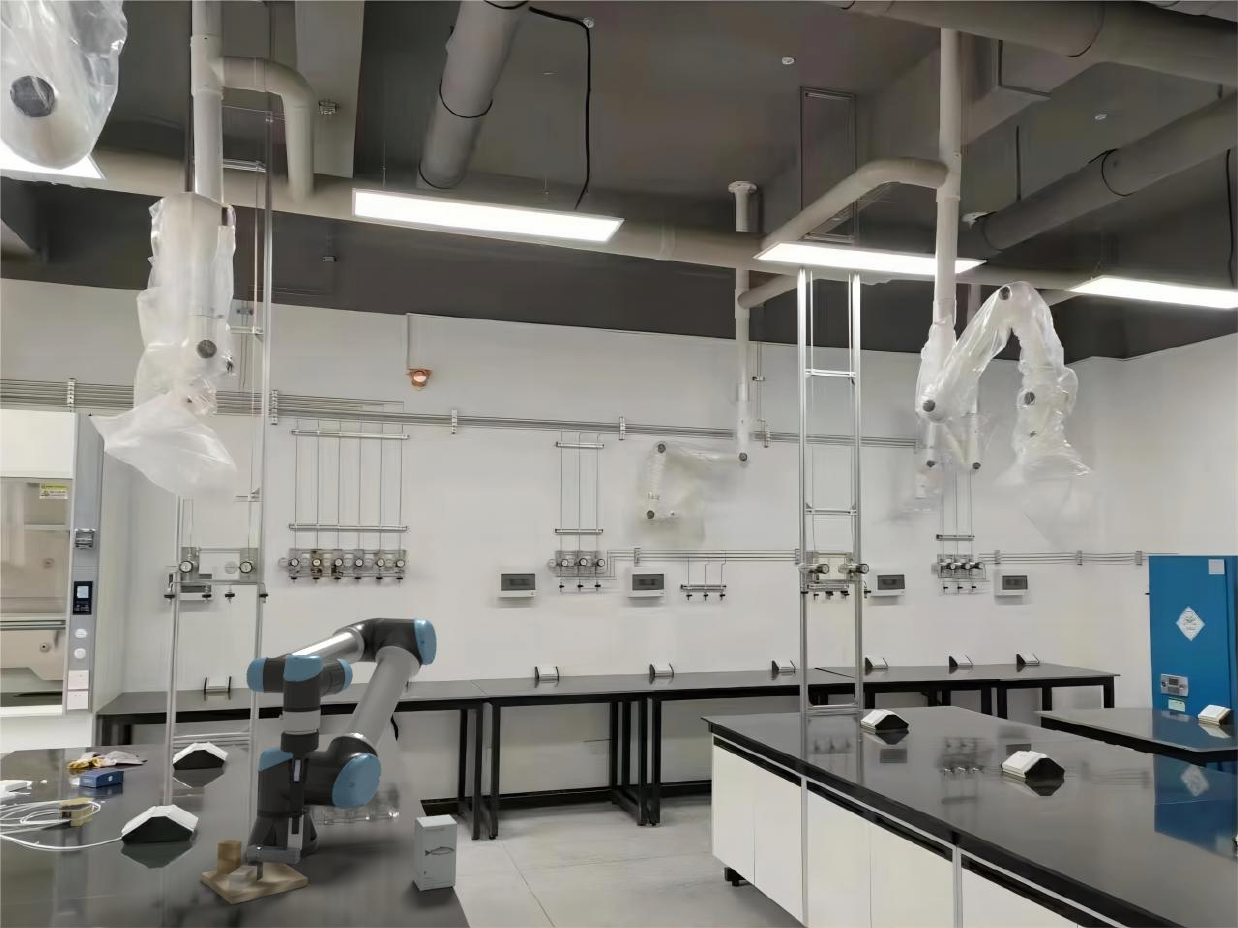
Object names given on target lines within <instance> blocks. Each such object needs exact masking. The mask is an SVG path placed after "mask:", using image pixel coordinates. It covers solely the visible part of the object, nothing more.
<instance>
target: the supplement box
mask: <svg viewBox="0 0 1238 928" xmlns="http://www.w3.org/2000/svg"><path fill="white" fill-rule="evenodd" d="M413 839H414V840H413V841H414V842H413V843H414V845H413V868H412V869H413V872H412V873H413V874H412V875H413V876H412V879H413V882H414V884H415V885H416V886H417V888H418V890H419V891H420V892H423V891H426V890H427V891H428V890H433V889H443V888H449V887H450V888H451V885H452V888H453V887H454V888H455V886H456V882H457V879H456V876H457V871H456V869H457V844H458V843H457V839H458V822H457V821H456V820H455V819H454V818H453V817H452V816H451V815H450V814H442V815H434V816H432V815H431V816H430V815H429V816H421V817H415V818H414V838H413Z"/></svg>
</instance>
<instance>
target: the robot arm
mask: <svg viewBox="0 0 1238 928" xmlns="http://www.w3.org/2000/svg"><path fill="white" fill-rule="evenodd" d="M436 655H437V634H436V630H435V627H434V625H433V623H432V622H431V621H430V620H428V619H423V618H422V619H421V618H417V617H414V618H388V617H375V618H374V617H373V618H367V619H364V620H360V621H356V622H354V623H351V624H348V625H345V626H342V627H340V628H338V629H336V631H335V632H333V633H332V634H331V636H328V637H326V638H323V639H320V640H318V641H315V642H313V643H311V644H308V645H307V644H306V645H305V646H302V647H300V648H297V649H295V650H292V651H290V652H287V653H285V654H282V655H279V656H276V657H268V656H265V657H257V658H254V659H253V660H252V661H251V662H250V663H249V665H248V667H247V669H246V684H247V686H248V688H249V689H250V690H251V691H252V692H258V693H263V694H268V693H269V694H283V695H282V696H283V697H282V698H283V699H282V714H279V716H278V719H279V720H280V721H281V720H282V722H281V730H283V732H281V735H280V745H278V746H274V747H270V748H267V749H265V750H264V751H262V753H261V754H260V756H259V761H258V769H257V775H258V776H257V800H256V801H257V803H256V818H255V821H254V823H253V825H252V829H251V831H250V835H249V837H248V840H247V844H246V848H247V847H248V846H251V845H257V844H261V845H265V846H274V847H292V848H300V858H303V857H306V856H308V855H311V854H313V853H315V852H316V851H317V850H318V849H319V836H318V832H317V830H316V826H315V821H314V819H313V815H312V806H313V807H314V806H315V807H323V808H324V807H326V808H336V809H337V808H338V809H340V810H345V809H359V808H362V807H364V806H366V805H367V804H368V803H369V802H370V801H371V800H372V799H373V797H374V796H375V794H376V792H377V790H378V787H379V785H380V777H381V775H382V764H381V762H380V758H379V754H378V751H377V749H378V746H379V745H380V742H381V740H382V737H383V736H384V733H385V731H386V729H387V727H388V724H389V723H390V721H391V719H392V717H393V713H394V711H395V709H396V707H397V705H398V703H399V700H400V698H401V696H402V694H403V693H404V690H405V688H406V686H407V683H408V681H409V679H412V678H414V677H416V676H417V675H418V674H419V671H420V669H421V667H422V666H428V665H432V664H433V663H434V661H435V658H436ZM355 663H373V664H374V663H376V667H375V669H374V670H373V672H372V675H371V677H370V679H369V681H368V683H367V685H366V687H365V688H364V690H363V693H362V695H361V697H360V699H359V700H358V702H357V705H356V707H355V709H354V710H353V712H352V715H351V717H350V718H349V721H348V722H347V725H346V727H345V728H344V731H343V732H342V734H341V735H338V736H335V737H333V738H332V740H331V742H330V743H329V745H328V747H327V749H326V750H323V751H322V750H320V751H318V749H319V746H320V732H319V730H318V729H320V727H321V711H322V710H321V701H322V700H321V699H322V698H323V697H327V696H332V695H337V694H339V693H341V692H343V691H345V690H347V689H348V688H349V687H350V685H351V683H352V681H353V678H354V677H353V676H354V675H353V674H354V673H353V668H352V667H351V665H353V664H355Z"/></svg>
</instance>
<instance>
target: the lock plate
mask: <svg viewBox="0 0 1238 928" xmlns="http://www.w3.org/2000/svg"><path fill="white" fill-rule="evenodd" d="M242 844H243V843H242V840H233V839H232V840H231V839H222V840H221V841H218V844H217V859H216V861H217V863H216V869H213V870H209V871H205V872H204V871H203V872H201V881H202V882H203V883H204V884H205V885H206V886H208V887H209V888H210V889H211V890H213V891H214V892H215V893H216V894H218V895H219V896H220V897H222V898H223V899H224V900H225V901H227V902H228V903H229V904H230V905H235V904H239V903H242V902H243V903H244V902H246V901H251V900H255V899H258V898H263V897H267V896H271V895H275V894H279V893H283V892H287V891H291V890H295V889H301V888H303V887H307V886H308V880H309V879H308V877H307V876H305V875H304V874H302V873H300V872H299V871H297V870H295V868H292V867H291V866H290V865H289V864H288V865H287V864H286V863H268V862H258V863H248V862H244V863H242V862H241V861H242V846H243V845H242Z"/></svg>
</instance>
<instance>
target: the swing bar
mask: <svg viewBox="0 0 1238 928" xmlns="http://www.w3.org/2000/svg"><path fill="white" fill-rule="evenodd" d="M300 861H301V857H300V848H292V847H274V846H265V845H261V844H257V845H251V846H248V847H247V846H246V852H245V863H247V862H248V863H258V862H268V863H284V864H286V865H287V864H288V865H289V864H291V865H295V864H297V863H299V862H300Z"/></svg>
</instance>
